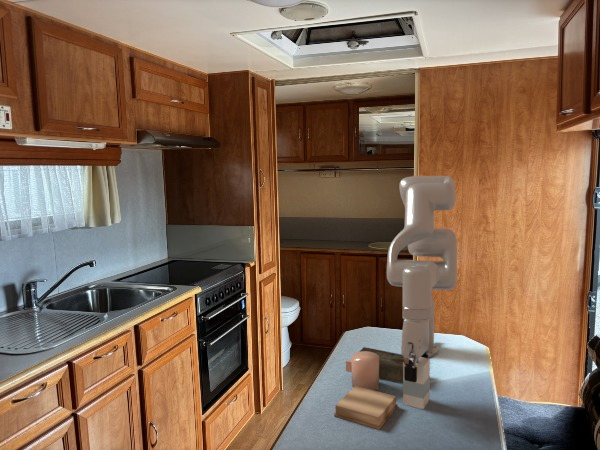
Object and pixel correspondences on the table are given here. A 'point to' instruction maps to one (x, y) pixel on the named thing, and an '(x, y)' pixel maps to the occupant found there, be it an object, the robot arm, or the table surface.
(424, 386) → the slim carton
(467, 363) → the table surface
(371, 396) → the plinth
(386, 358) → the beverage carton
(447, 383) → the table surface
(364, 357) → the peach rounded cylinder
